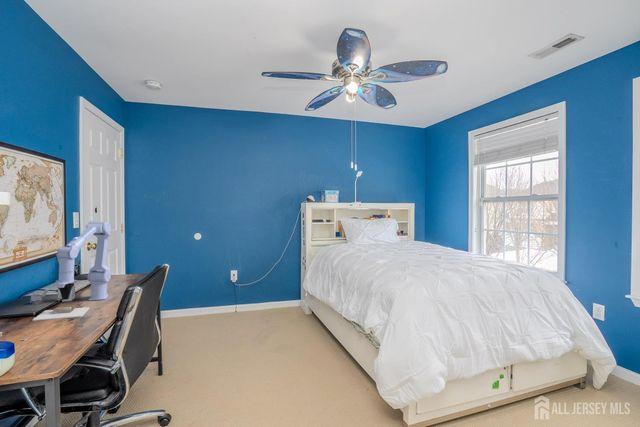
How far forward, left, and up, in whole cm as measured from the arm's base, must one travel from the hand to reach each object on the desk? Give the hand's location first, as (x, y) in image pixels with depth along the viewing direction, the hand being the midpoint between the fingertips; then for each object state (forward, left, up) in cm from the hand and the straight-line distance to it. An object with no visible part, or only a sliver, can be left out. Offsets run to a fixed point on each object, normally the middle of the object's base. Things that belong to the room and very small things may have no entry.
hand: (65, 299), depth 150 cm
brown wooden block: (-5, 0, -5) cm, 7 cm away
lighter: (-20, -16, -7) cm, 26 cm away
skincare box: (-24, -6, -7) cm, 25 cm away
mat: (+3, 0, -6) cm, 7 cm away
